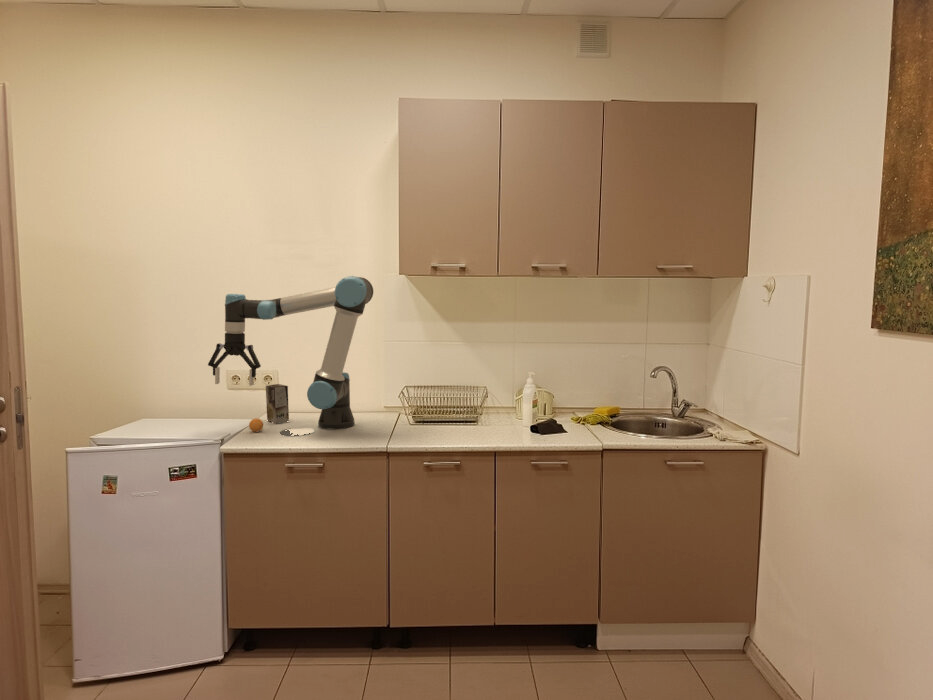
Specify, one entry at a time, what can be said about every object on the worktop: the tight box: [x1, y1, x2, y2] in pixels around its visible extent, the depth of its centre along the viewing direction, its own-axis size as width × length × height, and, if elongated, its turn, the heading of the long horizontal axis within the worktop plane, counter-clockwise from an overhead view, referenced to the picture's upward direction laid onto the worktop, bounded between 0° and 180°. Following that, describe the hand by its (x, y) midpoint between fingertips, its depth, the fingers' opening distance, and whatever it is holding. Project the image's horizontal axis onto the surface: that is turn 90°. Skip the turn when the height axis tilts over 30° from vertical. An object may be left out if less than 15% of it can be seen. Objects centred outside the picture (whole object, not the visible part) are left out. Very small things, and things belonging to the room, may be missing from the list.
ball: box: [248, 417, 264, 433], centre depth 238 cm, size 6×6×6 cm
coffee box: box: [265, 383, 290, 424], centre depth 257 cm, size 9×6×16 cm
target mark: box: [279, 428, 311, 437], centre depth 238 cm, size 14×14×1 cm
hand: (234, 384), depth 237 cm, fingers open, 13 cm apart
